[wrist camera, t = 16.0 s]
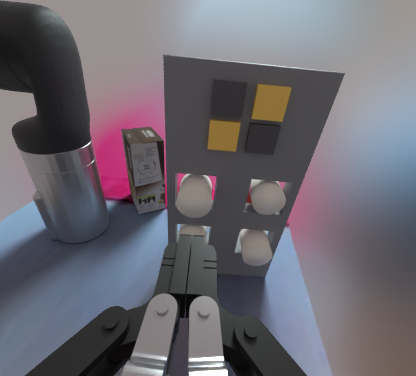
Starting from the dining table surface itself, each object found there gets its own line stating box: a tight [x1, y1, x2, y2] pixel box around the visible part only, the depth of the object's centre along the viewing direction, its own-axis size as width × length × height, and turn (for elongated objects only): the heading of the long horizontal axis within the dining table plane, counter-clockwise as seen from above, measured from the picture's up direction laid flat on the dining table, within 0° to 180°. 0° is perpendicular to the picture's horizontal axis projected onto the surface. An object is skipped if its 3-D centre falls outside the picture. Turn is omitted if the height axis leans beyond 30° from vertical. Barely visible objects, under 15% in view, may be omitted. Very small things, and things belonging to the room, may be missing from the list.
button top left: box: [176, 174, 212, 218], centre depth 25 cm, size 4×4×4 cm
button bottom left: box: [178, 224, 207, 247], centre depth 31 cm, size 4×4×4 cm
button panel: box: [163, 55, 345, 277], centre depth 29 cm, size 9×16×30 cm, turn 89°
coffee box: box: [121, 127, 165, 214], centre depth 45 cm, size 9×6×16 cm
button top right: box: [249, 179, 286, 215], centre depth 27 cm, size 4×4×4 cm
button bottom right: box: [239, 229, 272, 266], centre depth 30 cm, size 4×4×4 cm
